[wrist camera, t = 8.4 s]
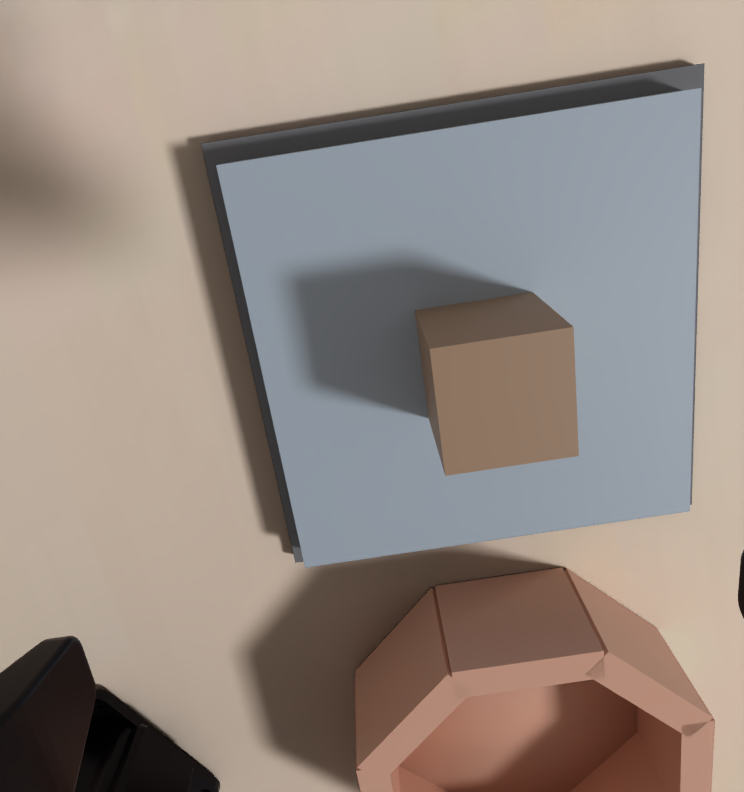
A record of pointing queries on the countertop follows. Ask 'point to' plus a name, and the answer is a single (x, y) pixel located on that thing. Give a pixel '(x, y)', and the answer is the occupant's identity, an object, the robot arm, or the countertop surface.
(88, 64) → the countertop surface
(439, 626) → the dish
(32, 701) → the robot arm
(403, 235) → the lid
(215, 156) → the mat
